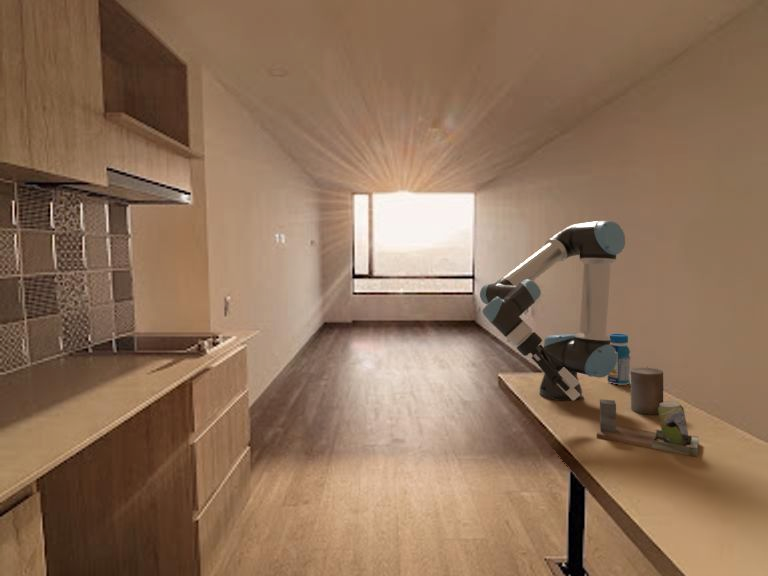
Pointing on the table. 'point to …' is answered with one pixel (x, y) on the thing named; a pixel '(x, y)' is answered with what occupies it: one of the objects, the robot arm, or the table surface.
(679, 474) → the table surface
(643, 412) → the pillar candle
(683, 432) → the beverage can
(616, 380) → the beverage bottle
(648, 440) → the pull strip
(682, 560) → the table surface
